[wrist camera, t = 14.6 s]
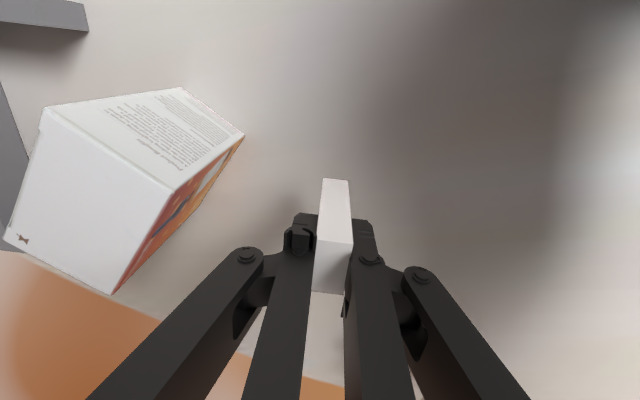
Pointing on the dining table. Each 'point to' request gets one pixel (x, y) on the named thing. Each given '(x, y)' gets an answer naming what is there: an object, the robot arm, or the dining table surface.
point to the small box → (116, 181)
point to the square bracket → (3, 137)
